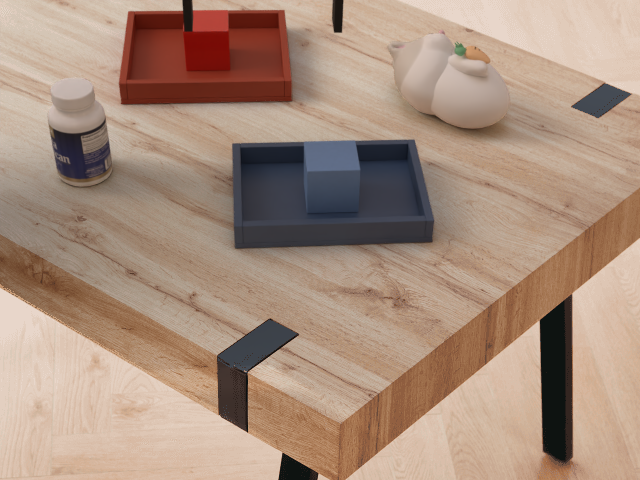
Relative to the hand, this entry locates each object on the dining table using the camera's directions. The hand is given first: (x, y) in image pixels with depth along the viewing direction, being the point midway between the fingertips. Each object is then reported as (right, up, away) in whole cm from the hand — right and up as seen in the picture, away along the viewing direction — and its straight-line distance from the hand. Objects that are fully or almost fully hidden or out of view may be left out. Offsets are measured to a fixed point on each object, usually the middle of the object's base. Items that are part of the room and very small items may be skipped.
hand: (263, 25), depth 99 cm
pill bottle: (-19, -13, +9) cm, 24 cm away
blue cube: (+6, -15, +6) cm, 18 cm away
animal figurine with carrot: (+18, -5, +20) cm, 27 cm away
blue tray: (+6, -16, +7) cm, 18 cm away
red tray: (-9, +2, +25) cm, 27 cm away
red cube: (-9, +2, +25) cm, 27 cm away
